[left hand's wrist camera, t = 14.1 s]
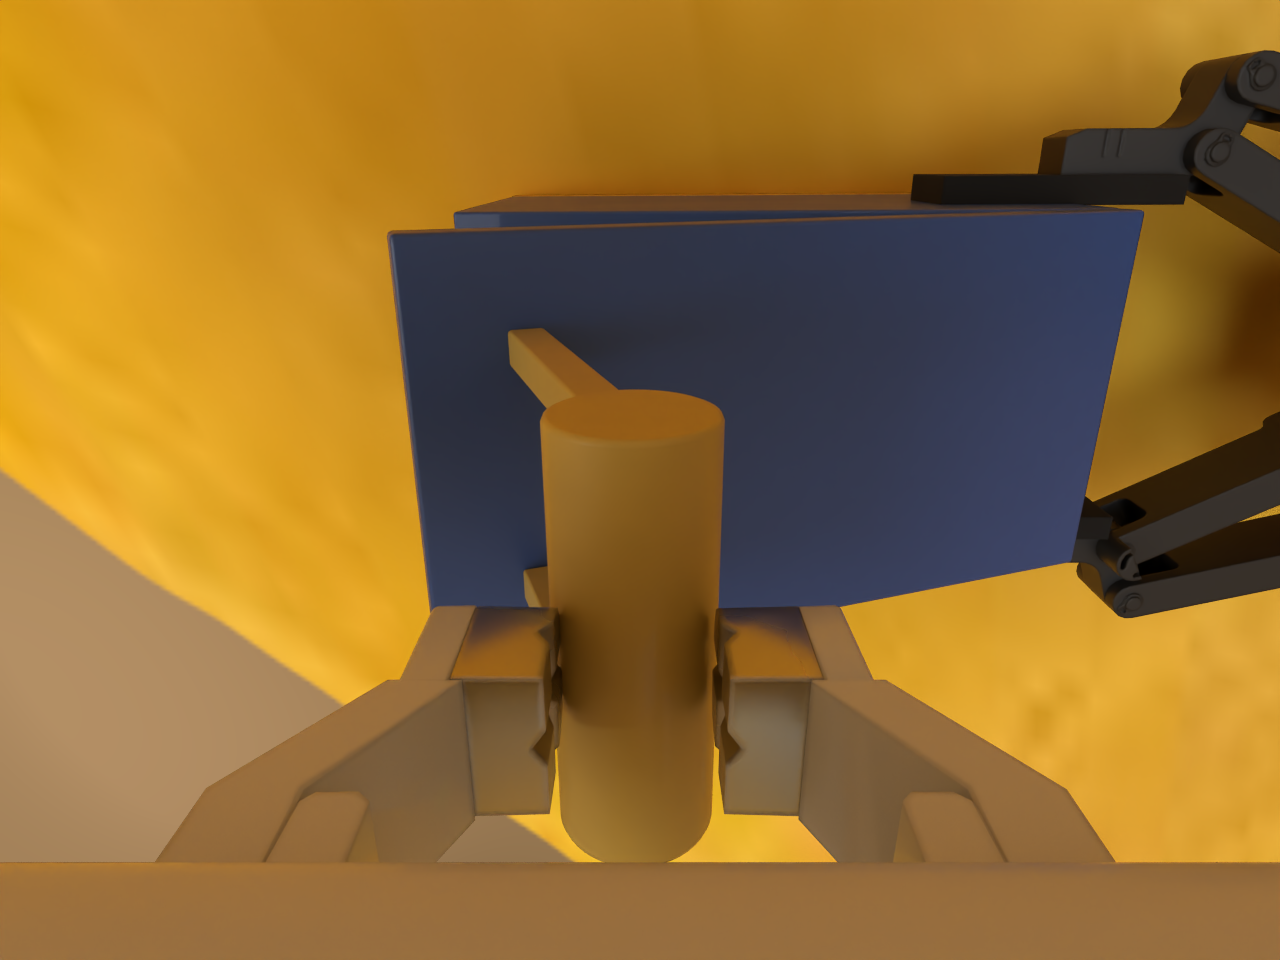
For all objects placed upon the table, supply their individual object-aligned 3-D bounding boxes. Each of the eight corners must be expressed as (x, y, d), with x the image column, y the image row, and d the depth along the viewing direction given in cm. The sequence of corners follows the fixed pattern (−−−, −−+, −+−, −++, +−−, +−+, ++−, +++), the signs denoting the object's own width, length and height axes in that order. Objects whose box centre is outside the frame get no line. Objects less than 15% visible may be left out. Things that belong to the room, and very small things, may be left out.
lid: (436, 665, 18) (500, 1005, 11) (386, 230, 15) (431, 296, 7) (1049, 550, 23) (1374, 727, 16) (1117, 208, 20) (1568, 234, 12)
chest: (530, 436, 33) (481, 550, 23) (515, 195, 30) (452, 211, 20) (934, 435, 33) (1053, 549, 23) (967, 192, 29) (1122, 207, 20)
